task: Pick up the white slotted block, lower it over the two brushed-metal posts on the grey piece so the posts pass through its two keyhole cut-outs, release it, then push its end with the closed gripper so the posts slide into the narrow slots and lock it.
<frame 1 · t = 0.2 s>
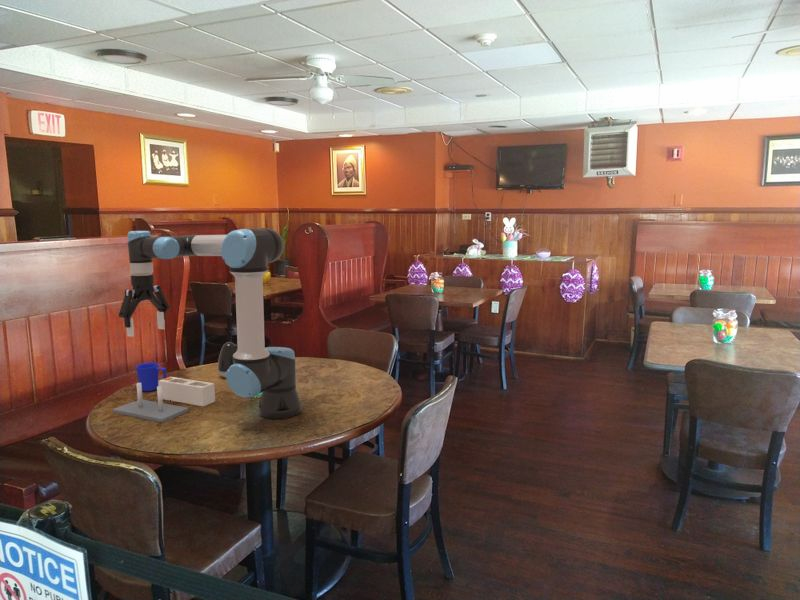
hand: (146, 332, 207), 27 cm above the table, fingers open, 13 cm apart
mug: (153, 390, 229), on the table
grey piece: (151, 411, 203), on the table
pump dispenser: (231, 377, 246), on the table
white slotted block: (187, 400, 216), on the table
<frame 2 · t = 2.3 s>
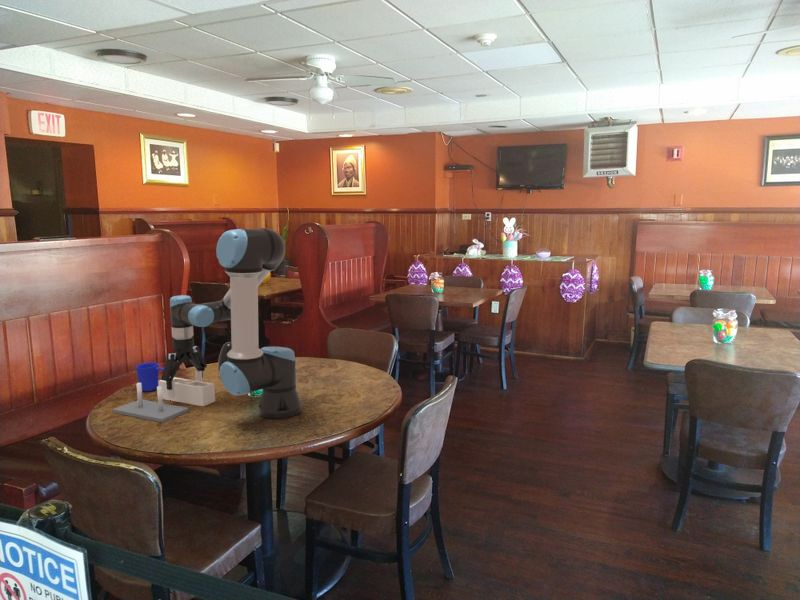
hand: (186, 392, 216), 3 cm above the table, fingers open, 13 cm apart
nothing on the table moved.
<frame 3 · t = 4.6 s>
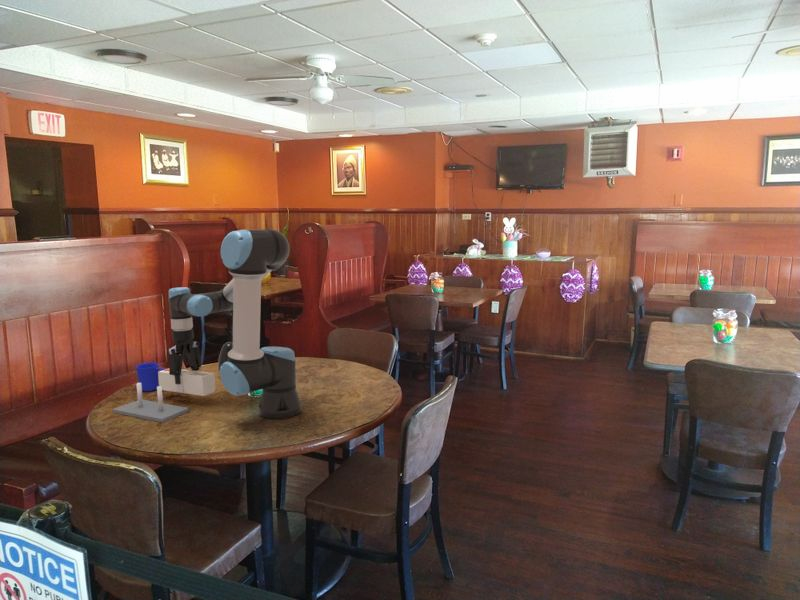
hand: (187, 389, 215), 4 cm above the table, fingers closed on white slotted block, 6 cm apart
white slotted block: (187, 390, 215), point 4 cm above the table, touching gripper
everything else where it was.
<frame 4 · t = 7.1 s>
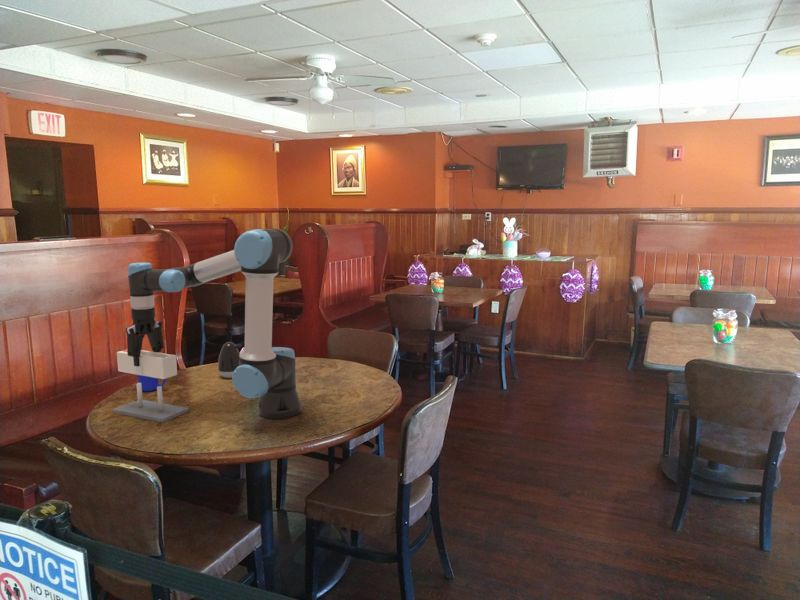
hand: (147, 372, 201), 15 cm above the table, fingers closed on white slotted block, 6 cm apart
white slotted block: (147, 372, 201), point 14 cm above the table, touching gripper
everything else where it was.
when the fingers open (2 cm above the table, at t = 9.6 s): white slotted block stays where it is, resting on grey piece.
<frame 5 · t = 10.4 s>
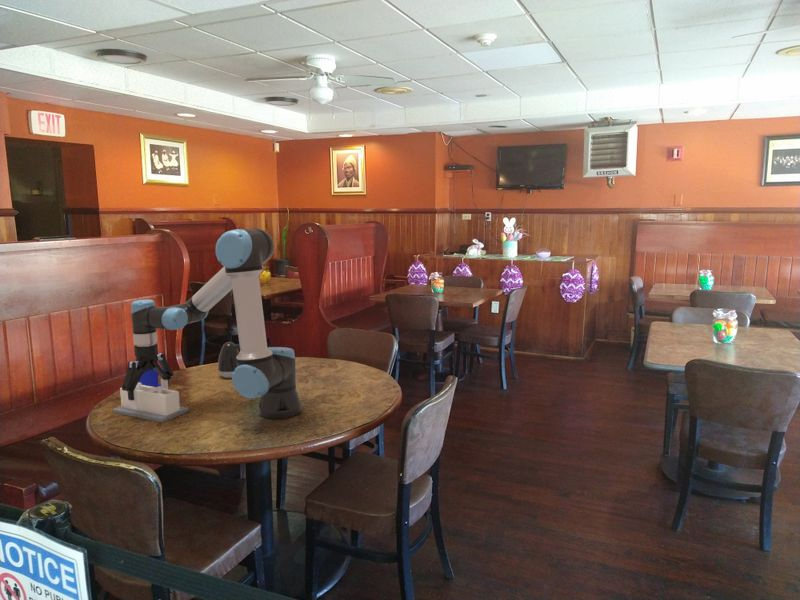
hand: (150, 402, 203), 3 cm above the table, fingers open, 13 cm apart
white slotted block: (150, 408, 203), point 1 cm above the table, touching grey piece
everything else where it was.
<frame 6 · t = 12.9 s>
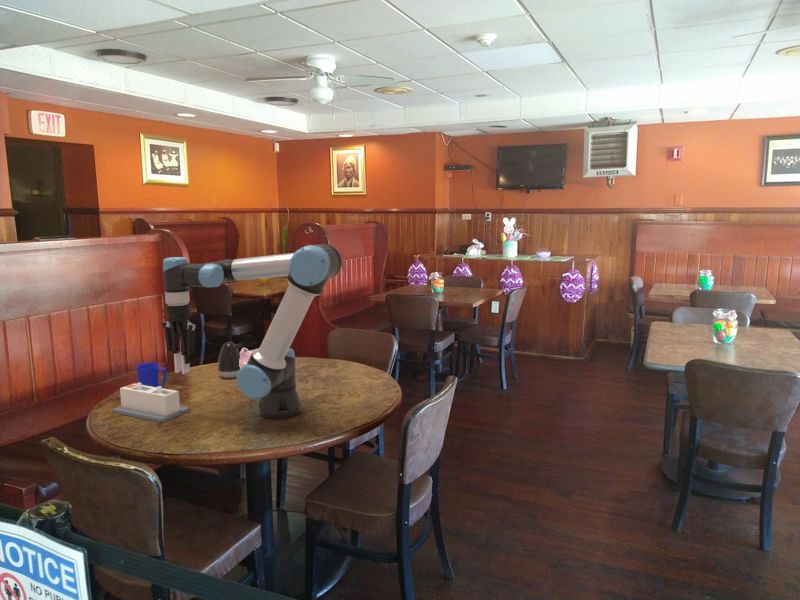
hand: (182, 372, 194), 17 cm above the table, fingers open, 3 cm apart
nothing on the table moved.
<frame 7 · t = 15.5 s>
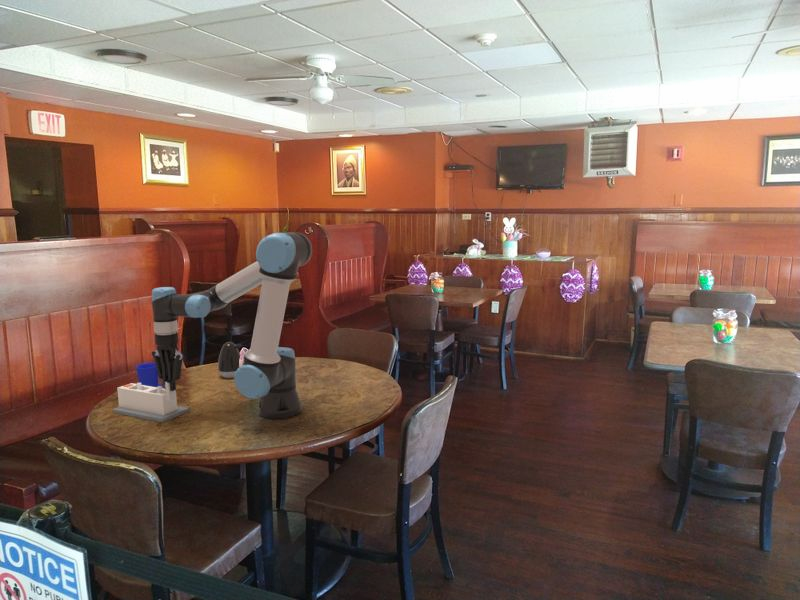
hand: (170, 399, 198), 6 cm above the table, fingers closed
white slotted block: (147, 408, 204), point 1 cm above the table, touching gripper
everything else where it was.
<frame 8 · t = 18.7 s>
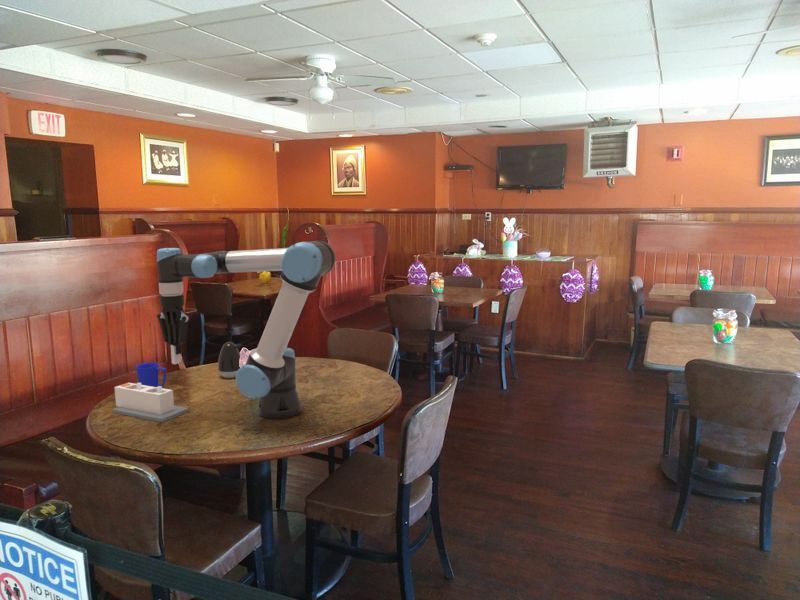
hand: (176, 363, 194), 19 cm above the table, fingers closed
white slotted block: (144, 407, 204), point 1 cm above the table, touching grey piece
everything else where it was.
at the end: white slotted block 0.9 cm from the target spot, point 1.2 cm above the table; white slotted block tilted 0°; the gripper is holding nothing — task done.
